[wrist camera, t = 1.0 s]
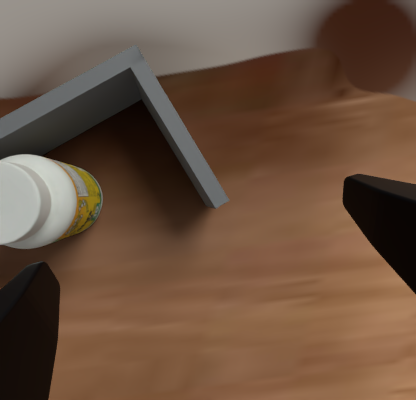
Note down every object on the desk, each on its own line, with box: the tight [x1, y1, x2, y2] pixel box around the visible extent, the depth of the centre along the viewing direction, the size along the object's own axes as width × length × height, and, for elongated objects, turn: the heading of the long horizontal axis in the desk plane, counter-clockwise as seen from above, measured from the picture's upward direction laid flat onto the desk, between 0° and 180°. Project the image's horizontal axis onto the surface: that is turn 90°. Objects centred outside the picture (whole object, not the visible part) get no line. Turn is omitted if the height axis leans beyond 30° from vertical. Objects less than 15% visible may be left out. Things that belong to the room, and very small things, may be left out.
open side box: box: [0, 45, 229, 209], centre depth 21 cm, size 11×20×6 cm, turn 121°
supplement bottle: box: [0, 154, 103, 249], centre depth 19 cm, size 5×5×10 cm
